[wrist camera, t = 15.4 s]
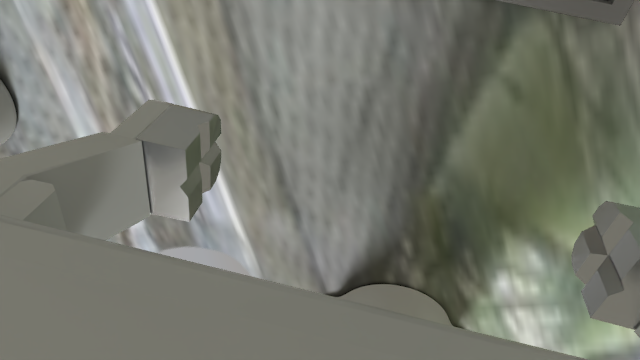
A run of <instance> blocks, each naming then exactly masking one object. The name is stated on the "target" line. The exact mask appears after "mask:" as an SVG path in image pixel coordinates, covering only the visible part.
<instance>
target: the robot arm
mask: <svg viewBox="0 0 640 360" xmlns="http://www.w3.org/2000/svg"><path fill="white" fill-rule="evenodd" d="M220 134H221V119H220V117H219V116H218V115H217V114H213V113H208V112H204V111H200V110H196V109H192V108H188V107H184V106H179V105H174V104H172V103H167V102H162V101H157V100H148V101H147V102H146V103H144V104H143V105H142V106H141V107H140V108H139V109H138V110H136V111H135V112H134V113H133V114H132V115H131V116H129V117H128V118H127V119H126V120H125V121H124V122H123V123H121V124H120V125H119V126H118V127H117V128H116V129H114V130H113V131H112V132H111V133H110V134H109V133H104V132H101V133H97V134H93V135H90V136H86V137H82V138H78V139H74V140H70V141H66V142H63V143H59V144H55V145H51V146H47V147H43V148H39V149H36V150H32V151H28V152H24V153H20V154H16V155H13V156H9V157H5V158H1V159H0V360H588V359H584V358H580V357H576V356H572V355H567V354H563V353H559V352H555V351H551V350H547V349H543V348H539V347H535V346H531V345H527V344H523V343H519V342H515V341H511V340H507V339H502V338H498V337H494V336H490V335H486V334H482V333H478V332H474V331H470V330H466V329H462V328H458V327H454V326H453V325H452V324H451V322H450V321H449V318H448V316H447V314H446V312H445V311H444V309H443V308H442V307H441V306H440V305H439V304H438V303H437V302H436V301H434V300H433V299H432V298H430V297H429V296H427V295H425V294H423V293H421V292H419V291H416V290H414V289H411V288H407V287H403V286H398V285H389V284H376V285H368V286H363V287H360V288H357V289H354V290H352V291H350V292H349V293H347V294H345V295H343V296H340V297H333V296H328V295H324V294H320V293H316V292H312V291H308V290H304V289H300V288H296V287H292V286H288V285H284V284H280V283H276V282H272V281H267V280H263V279H259V278H255V277H251V276H247V275H243V274H239V273H235V272H231V271H227V270H223V269H219V268H215V267H210V266H206V265H202V264H198V263H194V262H190V261H186V260H182V259H178V258H174V257H170V256H166V255H162V254H158V253H154V252H149V251H145V250H141V249H137V248H133V247H129V246H125V245H121V244H117V243H113V242H109V241H105V240H107V239H109V238H111V237H113V236H115V235H116V234H118V233H120V232H122V231H124V230H125V229H127V228H129V227H131V226H133V225H135V224H136V223H138V222H140V221H142V220H144V219H145V218H147V217H149V216H151V214H155V215H160V216H164V217H169V218H174V219H179V220H183V221H188V222H190V220H191V219H192V217H193V216H194V214H195V213H196V211H197V210H198V208H199V207H200V205H201V204H202V193H204V192H206V191H208V190H211V188H212V186H213V185H214V183H215V182H216V179H217V176H218V173H219V170H220V164H221V149H220V148H219V146H218V145H217V143H216V142H215V141H216V140H217V138H218V137H219V136H220ZM593 220H594V224H595V226H593V227H591V228H589V229H586V230H584V231H582V232H581V234H580V236H579V237H578V239H577V240H576V242H575V244H574V248H573V252H572V266H573V269H574V272H575V275H576V276H577V277H578V278H579V279H580V280H581V281H582V282H583V283H584V284H585V287H584V288H583V290H582V291H581V292H582V295H583V298H584V301H585V304H586V306H587V309H588V312H589V315H590V318H593V319H597V320H600V321H604V322H608V323H612V324H615V325H619V326H623V327H627V328H630V329H634V330H635V331H634V332H635V333H636V334H637V335H638V336H639V337H640V208H639V207H634V206H629V205H624V204H619V203H614V202H608V201H606V202H604V203H603V204H602V205H600V206H599V207H598V209H597V210H596V212H595V213H594V214H593Z"/></svg>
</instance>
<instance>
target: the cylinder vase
mask: <svg viewBox="0 0 640 360" xmlns="http://www.w3.org/2000/svg"><path fill="white" fill-rule="evenodd" d="M16 122H17V116H16V109H15V106H14V103H13V100H12V98H11V96H10V94H9V92H8V90H7V88H6V87H5V85H4V84H3V82H2V81H1V80H0V145H1V144H3V143H4V142H6V141H7V140H8V139H9V138H10V137H11V136H12V134H13V133H14V130H15V128H16Z"/></svg>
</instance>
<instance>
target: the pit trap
mask: <svg viewBox="0 0 640 360" xmlns="http://www.w3.org/2000/svg"><path fill="white" fill-rule="evenodd" d="M497 1H502V2H507V3H512V4H517V5H522V6H527V7H532V8H537V9H541V10H546V11H551V12H556V13H561V14H566V15H571V16H576V17H581V18H586V19H590V20H595V21H600V22H605V23H610V24H615V25H621V23H622V22H623V20H624V18H625V16H626V14H627V13H628V11H629V9H630V7H631V5H632V4H633V2H634V0H497Z"/></svg>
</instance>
